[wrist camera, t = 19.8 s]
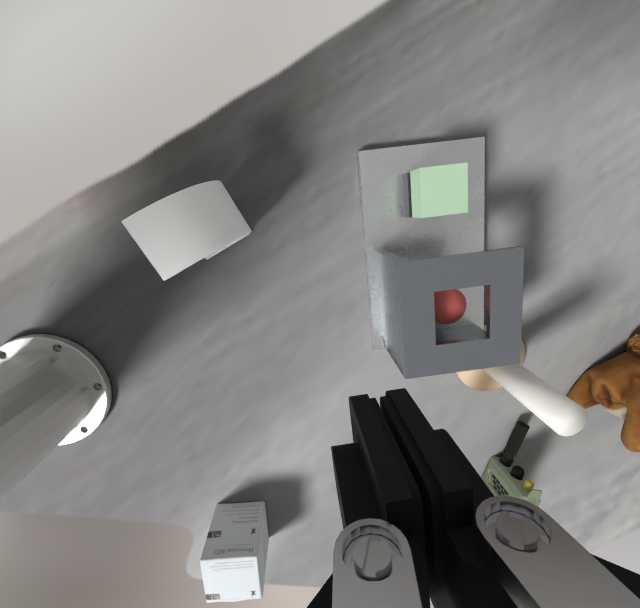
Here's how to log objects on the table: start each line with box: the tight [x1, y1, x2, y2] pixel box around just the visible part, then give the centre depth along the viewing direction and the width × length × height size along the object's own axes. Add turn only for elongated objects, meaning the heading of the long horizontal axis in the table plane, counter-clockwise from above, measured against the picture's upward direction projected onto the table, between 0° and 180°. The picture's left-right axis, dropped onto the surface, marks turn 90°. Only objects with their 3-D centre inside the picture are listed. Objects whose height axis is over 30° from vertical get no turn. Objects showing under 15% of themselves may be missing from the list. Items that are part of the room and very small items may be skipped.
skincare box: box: [200, 501, 269, 603], centre depth 40 cm, size 6×6×7 cm
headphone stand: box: [121, 181, 252, 281], centre depth 29 cm, size 5×6×12 cm
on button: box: [410, 162, 468, 218], centre depth 31 cm, size 4×4×4 cm
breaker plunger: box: [434, 289, 467, 325], centre depth 34 cm, size 3×3×4 cm
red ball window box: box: [357, 137, 524, 379], centre depth 32 cm, size 12×20×9 cm, turn 7°
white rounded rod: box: [482, 364, 587, 436], centre depth 33 cm, size 3×3×12 cm
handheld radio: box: [481, 421, 542, 506], centre depth 42 cm, size 7×3×25 cm
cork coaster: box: [456, 324, 525, 391], centre depth 39 cm, size 8×8×1 cm
